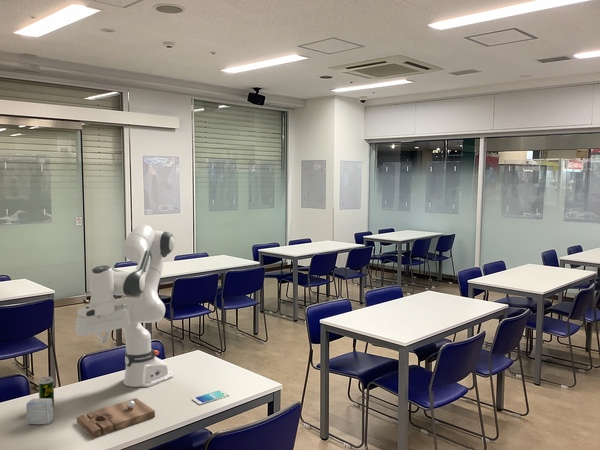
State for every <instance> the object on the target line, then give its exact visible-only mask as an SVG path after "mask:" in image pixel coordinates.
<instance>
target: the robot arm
mask: <svg viewBox="0 0 600 450" xmlns="http://www.w3.org/2000/svg"><path fill="white" fill-rule="evenodd" d="M174 248H175V236H174V235H173V234H172V233H171V232H168V231H161V230H154V229H153V228H152V227H151V226H149V225H148V224H141V225H138V226H136V227H135V228H134V229H133V230H132V231H131V232H130V233H129V234H128V236H126V238H125V240H124V242H123V244H122V249H121V250H122V253H123V255H124V257H125V258H126V259H127V260H129V261H130V262H132V263H136V264H137V265H136V268H135V270H132V271H119V270H118V271H116V270H113V269H112V267H111V266H110V265H100V266H96V267H94V268H92V269H91V271H90V275H89V276H90V277H89V293H90V300H89V303H88V304H86V305H85V306H82V307H79V308H78V309H77V312H76V313H77V315H78V316H77V317H76V319H75V329H74V330H75V334H76V335H77V336H79V337H86V336H89V335H96V337H97V338H98V342H99V344H104V343H109V337H110V335H111V333H112V331H115V330H122V332H123V334H124V335H123V336H124V339H125V352H124V355H125V356H124V357H125V358H124V362H125V372H124V378H123V382H122V384H123V385H125V386H127V387H131V388H133V387H134V388H136V387H145V388H149V387H152V386H155V385H157V384H159V383H162V382H164V381H167V380H169V379H172V378H173V377H174V373H173V372H172V371H171V370H169V368H168V365H167V363H166V362H165V361H164V360H162V359H161V358H159V357H157V356H158V355H159V354H160V351H159V350H156V349H153V348H152V335H151V333H150V331H149V330H148V329H146V328H145V327H143V325H142V324H141V323H145V324H147V323H149V324H151V323H158V322H160V321H162V319H163V318H164V316H165V315H166V314H165V313H166V306H165V303H164V302H163V301H162V300H161V299H160V297H159V294H158V289H159V284H160V280H161V276H162V272H163V268H164V267H163V266H164V258H166V257H167V256H168V255H170V253H172V251H174ZM114 296H123V297H120V298H116V299H115V297H114ZM124 296H125V297H124ZM126 296H127V297H126ZM102 333H105V335H104V336H103V337H102Z"/></svg>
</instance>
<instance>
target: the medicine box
mask: <svg viewBox="0 0 600 450" xmlns="http://www.w3.org/2000/svg"><path fill="white" fill-rule="evenodd" d="M53 409H54V407H53V406H52V398H42V399H39V398H31V399H30V400H29V401H28V402H27V403H26V422H27V425H28V424H44V425H49V424H50V423H51V422H52V421H53V420H54V410H53Z"/></svg>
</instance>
